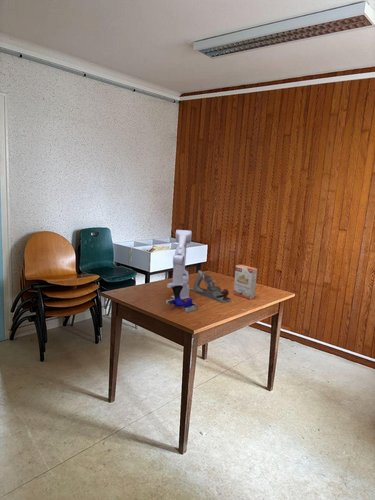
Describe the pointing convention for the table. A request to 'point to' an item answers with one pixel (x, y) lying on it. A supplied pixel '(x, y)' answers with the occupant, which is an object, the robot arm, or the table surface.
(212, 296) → the hand plane
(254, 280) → the cracker box
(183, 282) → the robot arm
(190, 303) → the cable clip
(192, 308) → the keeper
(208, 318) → the table surface
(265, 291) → the table surface
